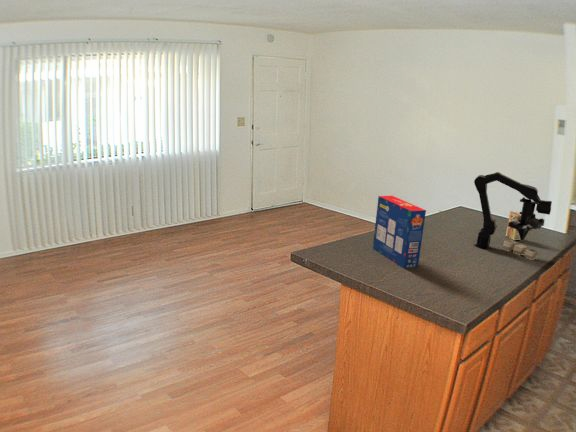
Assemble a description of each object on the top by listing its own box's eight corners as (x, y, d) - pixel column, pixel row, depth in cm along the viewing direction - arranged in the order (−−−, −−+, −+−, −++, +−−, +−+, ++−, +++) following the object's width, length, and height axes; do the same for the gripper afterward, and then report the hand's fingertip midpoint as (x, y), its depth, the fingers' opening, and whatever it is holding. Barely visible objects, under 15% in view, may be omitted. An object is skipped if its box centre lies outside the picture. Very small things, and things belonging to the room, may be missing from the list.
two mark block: (509, 251, 273) (510, 243, 272) (502, 248, 277) (503, 240, 276) (514, 250, 275) (516, 242, 274) (508, 248, 279) (509, 240, 278)
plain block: (519, 256, 267) (521, 248, 266) (512, 253, 271) (514, 245, 270) (525, 255, 269) (527, 247, 268) (518, 252, 273) (520, 244, 272)
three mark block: (531, 260, 261) (533, 252, 260) (523, 257, 265) (525, 249, 264) (537, 259, 263) (539, 251, 262) (529, 256, 267) (531, 248, 266)
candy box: (520, 241, 292) (525, 215, 288) (513, 241, 292) (518, 215, 288) (511, 236, 301) (516, 211, 297) (504, 236, 300) (509, 211, 296)
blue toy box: (417, 267, 242) (425, 210, 234) (403, 268, 239) (411, 211, 231) (385, 247, 267) (392, 195, 259) (372, 248, 264) (378, 196, 256)
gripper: (528, 216, 253) (522, 246, 257) (553, 214, 261) (547, 243, 265) (510, 210, 262) (504, 239, 266) (535, 208, 270) (529, 236, 275)
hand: (522, 239), depth 268 cm, fingers closed
